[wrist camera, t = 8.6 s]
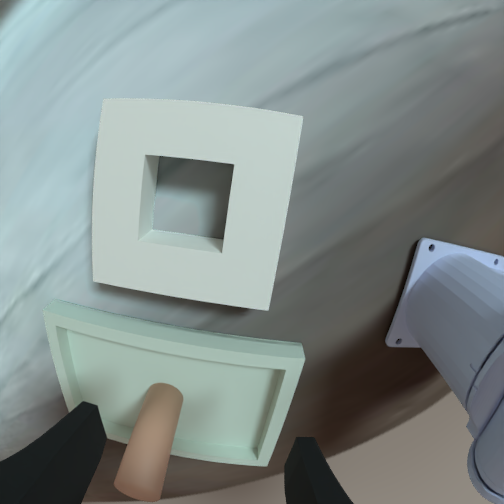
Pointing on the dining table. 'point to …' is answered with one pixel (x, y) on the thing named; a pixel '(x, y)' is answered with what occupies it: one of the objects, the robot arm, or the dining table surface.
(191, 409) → the tray
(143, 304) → the dining table surface
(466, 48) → the dining table surface
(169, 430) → the dowel
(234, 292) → the socket block
